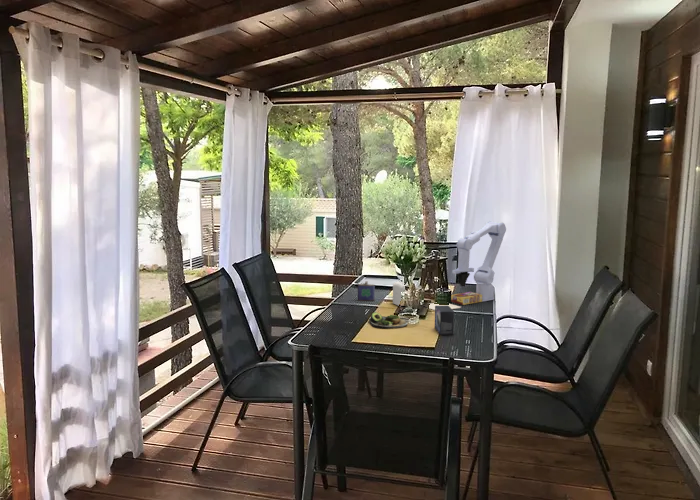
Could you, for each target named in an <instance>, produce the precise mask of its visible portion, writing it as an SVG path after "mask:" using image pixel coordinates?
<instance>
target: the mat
mask: <svg viewBox="0 0 700 500" xmlns="http://www.w3.org/2000/svg"><path fill="white" fill-rule="evenodd" d="M434 303H435V302H430V303H429V304H430V305H429V310H431V309H432V310H433V311H435V306H447V305H439V304H434ZM448 306H449V307H450V308H451V309H452V310H456V309H461V308H462V306H459V305H456V304H452V303H449V305H448ZM432 310H431V311H432Z"/></svg>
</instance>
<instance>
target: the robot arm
mask: <svg viewBox="0 0 700 500" xmlns="http://www.w3.org/2000/svg"><path fill="white" fill-rule="evenodd" d="M506 232H507V227H506V224H505V223H504V222H499V221H497V222H496V221H490V220H489V221H487V222H485V223H484V226H482V227H481V228H480V229H478V230H477V231H471V232H470V233H469V234H468V235H465V237H463V238H459V239H458V240H457V242H456V243H455V244H456V248H457V251H458V261H457V268H456V269H452V270H451V271H452V272H451V273H452V275H456V276H457V277H458V281H459V286H460V287H466V284H467V281H468V278H469V277H470V275H471V274H470V273H473V272H474V271H475V268H474V267H470V252H471V250H472V248H473V246H474V245H475V244H476V243H479V241H480V240H481V238H482V237H484V236H485V235H488V236H489V237H490V238H491V242H490V245H489V247H488V249H487V252H486V255H485V257H484V261H483V263H482V265H481V266H479V267H478V268H477V269H476V271H475V272H474V274H473V280H474V281H475V284H476V289H475V290H476V291H475V293H477V294H481V295H482V302H487V301H493V300H495V298H494V292H495V291H494V290H495V288H494V285H493V283H494V282H493V281H494V278H495V277H494V276H495V272H494V270H493V267H494V265H495V261H496V259H497V256H498V254H499V251H500V248H501V246H502V243H503V239H504V236H505V233H506Z"/></svg>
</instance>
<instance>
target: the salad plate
mask: <svg viewBox="0 0 700 500" xmlns="http://www.w3.org/2000/svg"><path fill="white" fill-rule="evenodd" d="M407 321H410V318H408V317H407V318H406V317H401V315H398V316H397V314H395V315H394V314H389V315H387V316H386V315H385V316H382V314H380V313H379V312H372V313H371V315H370V317H369V318H368V322H369V324H370V326H372V327H373V328H376V329H387V330H388V329H399V328H404V327H406V326H408V322H407Z"/></svg>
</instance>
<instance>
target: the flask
mask: <svg viewBox="0 0 700 500" xmlns="http://www.w3.org/2000/svg"><path fill="white" fill-rule="evenodd" d="M368 282H369V281H365V282H363V283H358V284H357V301H359V302H365V301H366V302H374V301H375V300H376V299H375V287H376V286H375V285H376V284H374V283H368Z"/></svg>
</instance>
